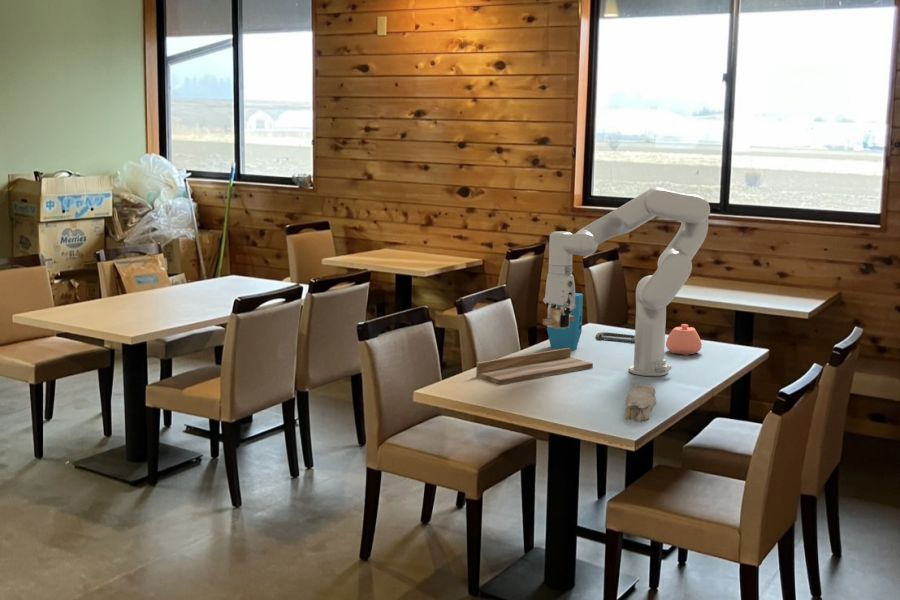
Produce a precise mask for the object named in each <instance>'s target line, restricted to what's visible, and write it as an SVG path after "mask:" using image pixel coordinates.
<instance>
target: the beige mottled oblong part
mask: <svg viewBox="0 0 900 600" xmlns="http://www.w3.org/2000/svg"><path fill="white" fill-rule="evenodd" d="M656 399H657V397H656V388H655V387H654V386H651V385H649V384H648V385H647V384H635V385H634V386H632V388H631V389H630V390H629V392H628V394H627V397H626V399H625V403H624V404H625V406H626V407H625V409H624V413H623V418H624V419H627V420H628V421H632V422H641V421H644V420H645V421H646V420H649V419H650V418H651V417H650V416H651V411H652V410H653V408H654V406H655V405H656V403H657V400H656Z"/></svg>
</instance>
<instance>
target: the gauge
mask: <svg viewBox="0 0 900 600" xmlns="http://www.w3.org/2000/svg"><path fill="white" fill-rule="evenodd" d="M547 309H548V311H547V313H548V318H547V317H546V318H542V325H543V326H546V328H547V327H551V328H555V329H562V328H565V329H566V328H569V326H568V327H560V319H561V315H562V311H561V307H555V308H547ZM565 310H566V308H565ZM569 322H574V316H571V315H569Z"/></svg>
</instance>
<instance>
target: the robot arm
mask: <svg viewBox="0 0 900 600" xmlns="http://www.w3.org/2000/svg"><path fill="white" fill-rule="evenodd" d="M710 214H711V207H710V204H709V202H708V201H707V200H706V198H705V197H702V196H699V195H697V194H694V193H692V194H691V193H690V194H686V193H681V192H676V191H671V190H667V189H664V188H663V187H655V186H654V187H652V188H649V189H647V190H646V191H644V192H642V193H641V194H639V195H637V196H636V197H635V198H632V199H631V200H629V201H627V202H626V203H624V204H623V205H621V206H619V207H617V208H615V209H614V210H612V211H610V212H609V213H607V214H605V215H603V216H602V217H599V218H597V219H595V220H594V221H592V222H590V223H589V224H587V225H585V226H584V227H582V228H580V229H579V230H578V231H577V232H575V233H572V232H569V231H562V230H559V231H558V230H557V231H552V232H551V233H550V234H549V243H548V245H549V246H548V247H549V248H548V249H549V251H548V273H547V275H546V283H545V290H544V291H545V296H544V297H543V299H542V301H543V303H544V304H545V306H546V308H547V309H546V310H547V312H548V308H555V307H557V305H559V306H561V311H562V315H561V319H560V327H568V326H569V315H570V314H571V312H572V310H573V309H574V308H576V305H575V293H576V284H575V283H576V282H575V276H574V275H573V271H574V269H573V255H575V256H579V257H580V256H582V257H589V256H592V255H593V254H594V253H596V252H597V249H598V246H599V245H601V244H603V243H605V242H606V241H607V240H610V239H612V238H614V237H617V236H620V235H625V234H628V233H630V232H632V231H635V229H637V228H639V227H640V226H643V225H644V224H646V223H647V222H649V221H651V220H652V219H654V218H656V217H659V218H664V219H667V220H673V221H677V222H678V221H679V222H681V223H680V227H679V229H678V231H677V233H676V234H675V235H674V237H673V238H672V240H671V241H670V243H669V244H668V245H667V246H666V248H665V249H664V250H663V252H662V253H661V254H660V256H659V257H658V260H657V268H656V270H655V272H654V273H653V274H652V275H651V274H650V275H646V276H644V277H642V278H641V279H640V280H639V281H638V283H637V285H636V289H635V329H634V330H635V332H634V335H635V343H634V348H633V349H634V351H633V353H634V354H633V364H632V365H630V366H628V371H629V372H630V373H631V374H634V375H637V376H642V377H643V376H644V377H660V376H667V375H668V374H669V372H670V371H671V370H672V365H670V364H667V360H666V359H665V346H666V343H665V342H666V341H665V340H666V324H667V322H666V320H667V306H668V305H669V304H670V303H672V301H673V300H674V298H675V297H676V296H677V294H678V293H679V291H680V290H681V289H682V287H683V286H684V284H685V283H686V282H687V280H688V279H689V277H690V276H691V273H692V270H693V264H692V263H693V262H692V260H693V259H694V257H695V255H696V254H697V252H698V251H699V250H700V248H701V247H702V245H703V243H704V242H705V239H706V237H707V235H708V231H709V216H710ZM565 307H566V310H565Z"/></svg>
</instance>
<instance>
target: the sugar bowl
mask: <svg viewBox="0 0 900 600" xmlns="http://www.w3.org/2000/svg"><path fill="white" fill-rule="evenodd" d="M700 337H701V336H700V335H699V334H698V332H697V330H696V328H695V327H692V326H690V327H689V324H686V323H682V324H680V326H675V327H674V328H673V329H672V330H671V331H670V333H669V335H668V337H667V338H666V341H665V342H666V343H665V346H666V348H667V350H668V351H669V352H670V353H672V354H682V355H683V356H687V357H688V356H689V355H692V354H697V353H699V351H701V349H702V345H703V344H702V341H701V338H700Z"/></svg>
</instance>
